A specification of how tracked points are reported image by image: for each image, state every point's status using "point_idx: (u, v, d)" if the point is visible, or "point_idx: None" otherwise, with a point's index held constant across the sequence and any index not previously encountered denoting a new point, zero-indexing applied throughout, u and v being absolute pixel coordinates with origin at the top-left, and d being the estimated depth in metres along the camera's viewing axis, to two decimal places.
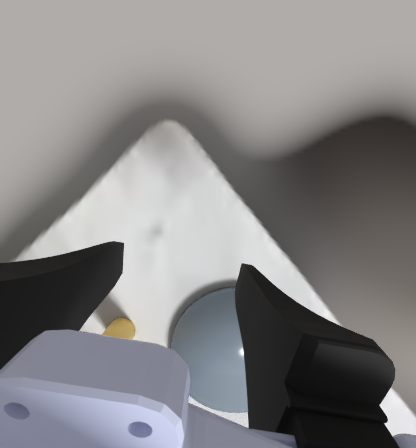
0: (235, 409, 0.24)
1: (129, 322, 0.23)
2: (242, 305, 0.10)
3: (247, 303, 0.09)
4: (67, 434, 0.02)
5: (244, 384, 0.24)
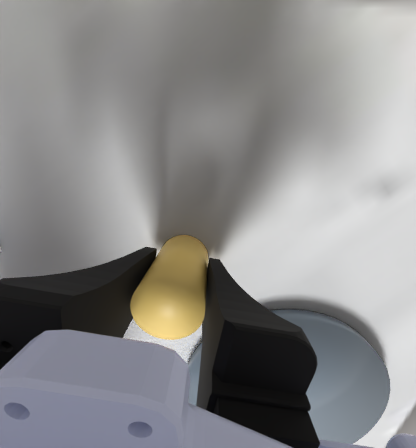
0: None
1: None
2: None
3: (207, 296, 0.09)
4: (67, 434, 0.02)
5: None
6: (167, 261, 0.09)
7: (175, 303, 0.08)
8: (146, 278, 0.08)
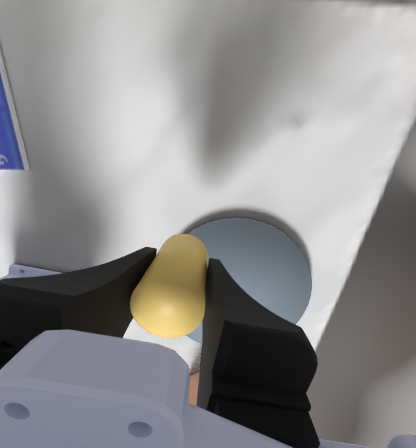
0: None
1: (207, 258, 0.13)
2: (205, 299, 0.10)
3: (208, 296, 0.09)
4: (67, 434, 0.02)
5: None
6: (167, 259, 0.09)
7: (175, 301, 0.08)
8: (145, 277, 0.08)
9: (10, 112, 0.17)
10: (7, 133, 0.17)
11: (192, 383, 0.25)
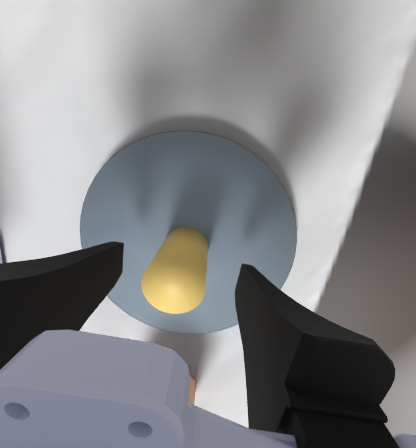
0: (120, 302, 0.16)
1: None
2: (242, 305, 0.10)
3: (247, 303, 0.09)
4: (67, 434, 0.02)
5: None
6: (172, 246, 0.11)
7: (180, 281, 0.10)
8: (154, 260, 0.10)
9: None
10: None
11: None
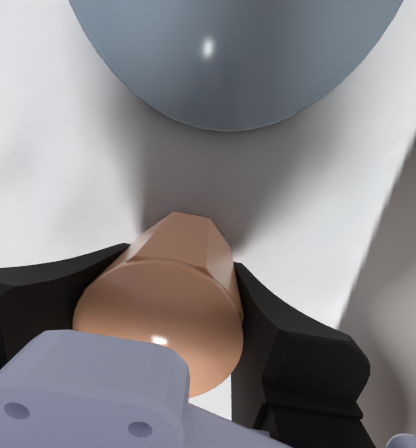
0: (115, 60, 0.10)
1: None
2: None
3: None
4: (67, 434, 0.02)
5: (181, 19, 0.09)
6: None
7: None
8: None
9: None
10: None
11: (152, 227, 0.12)
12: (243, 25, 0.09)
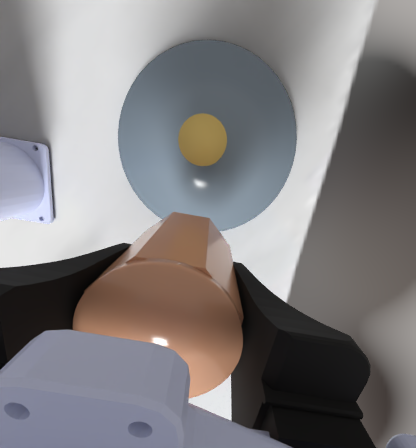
0: (149, 202, 0.19)
1: None
2: None
3: None
4: (67, 434, 0.02)
5: (181, 186, 0.19)
6: None
7: (208, 134, 0.13)
8: None
9: None
10: None
11: (152, 228, 0.12)
12: (211, 189, 0.19)
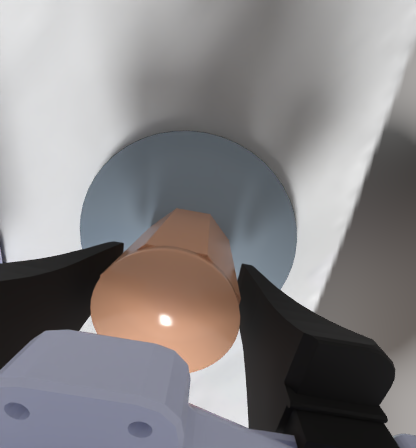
0: None
1: None
2: (242, 305, 0.10)
3: (247, 303, 0.09)
4: (67, 434, 0.02)
5: None
6: None
7: None
8: None
9: None
10: None
11: (156, 223, 0.13)
12: None
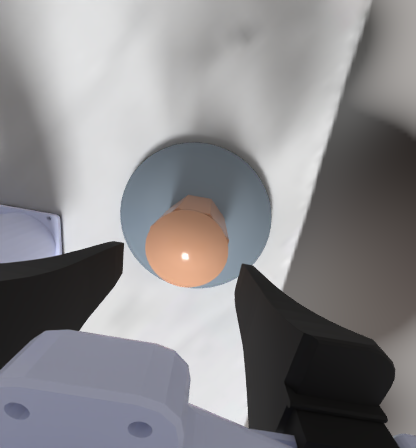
0: (146, 264, 0.22)
1: None
2: (242, 305, 0.10)
3: (247, 303, 0.09)
4: (67, 434, 0.02)
5: None
6: None
7: None
8: None
9: None
10: None
11: (175, 204, 0.19)
12: None
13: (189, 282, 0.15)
